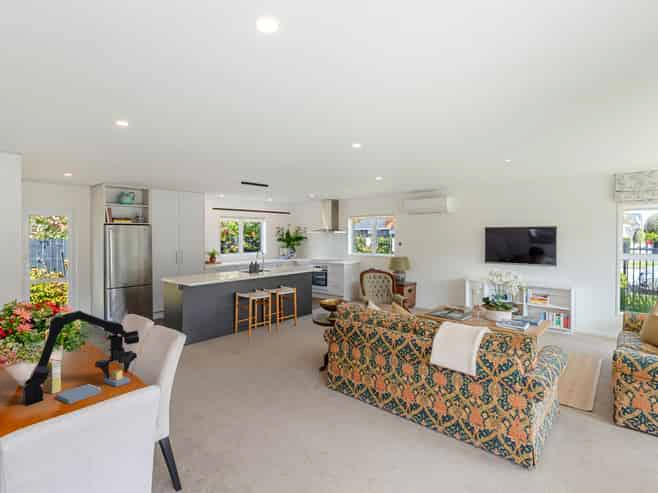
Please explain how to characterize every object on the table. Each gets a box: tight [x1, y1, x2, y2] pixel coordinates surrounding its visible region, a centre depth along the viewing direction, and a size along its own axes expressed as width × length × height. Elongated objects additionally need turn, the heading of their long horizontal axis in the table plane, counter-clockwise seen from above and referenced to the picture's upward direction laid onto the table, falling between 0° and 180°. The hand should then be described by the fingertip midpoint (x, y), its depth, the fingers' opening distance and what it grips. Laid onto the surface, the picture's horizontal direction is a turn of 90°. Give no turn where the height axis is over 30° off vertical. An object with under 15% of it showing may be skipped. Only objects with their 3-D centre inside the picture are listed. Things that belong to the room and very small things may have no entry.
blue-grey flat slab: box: [55, 383, 102, 405], centre depth 168 cm, size 14×12×2 cm
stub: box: [103, 368, 131, 388], centre depth 183 cm, size 7×12×6 cm, turn 60°
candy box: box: [41, 358, 62, 395], centre depth 173 cm, size 9×4×15 cm, turn 66°
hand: (116, 375), depth 183 cm, fingers open, 9 cm apart
